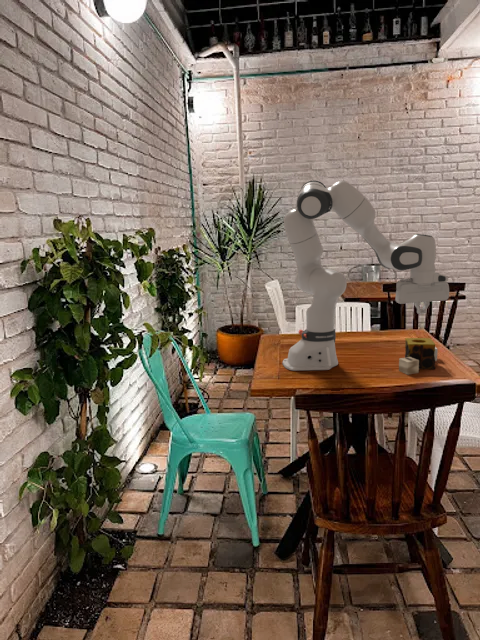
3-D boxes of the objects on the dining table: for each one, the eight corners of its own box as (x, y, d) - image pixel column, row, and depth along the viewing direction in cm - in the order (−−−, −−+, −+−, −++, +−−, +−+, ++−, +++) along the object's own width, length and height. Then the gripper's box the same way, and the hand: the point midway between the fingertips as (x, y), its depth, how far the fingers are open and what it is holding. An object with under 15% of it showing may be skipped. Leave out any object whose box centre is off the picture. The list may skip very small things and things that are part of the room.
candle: (435, 369, 181) (436, 344, 179) (407, 369, 183) (408, 344, 181) (430, 362, 191) (431, 337, 189) (404, 361, 193) (405, 337, 191)
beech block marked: (407, 374, 177) (407, 361, 176) (398, 371, 181) (399, 357, 180) (418, 373, 178) (419, 359, 177) (409, 369, 183) (410, 356, 182)
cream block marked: (424, 360, 192) (424, 348, 191) (421, 357, 197) (421, 345, 196) (437, 360, 192) (437, 348, 191) (433, 357, 197) (434, 345, 196)
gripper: (400, 280, 175) (399, 317, 178) (452, 276, 178) (450, 312, 181) (392, 278, 181) (392, 314, 184) (442, 274, 184) (441, 309, 187)
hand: (421, 313), depth 182 cm, fingers closed
